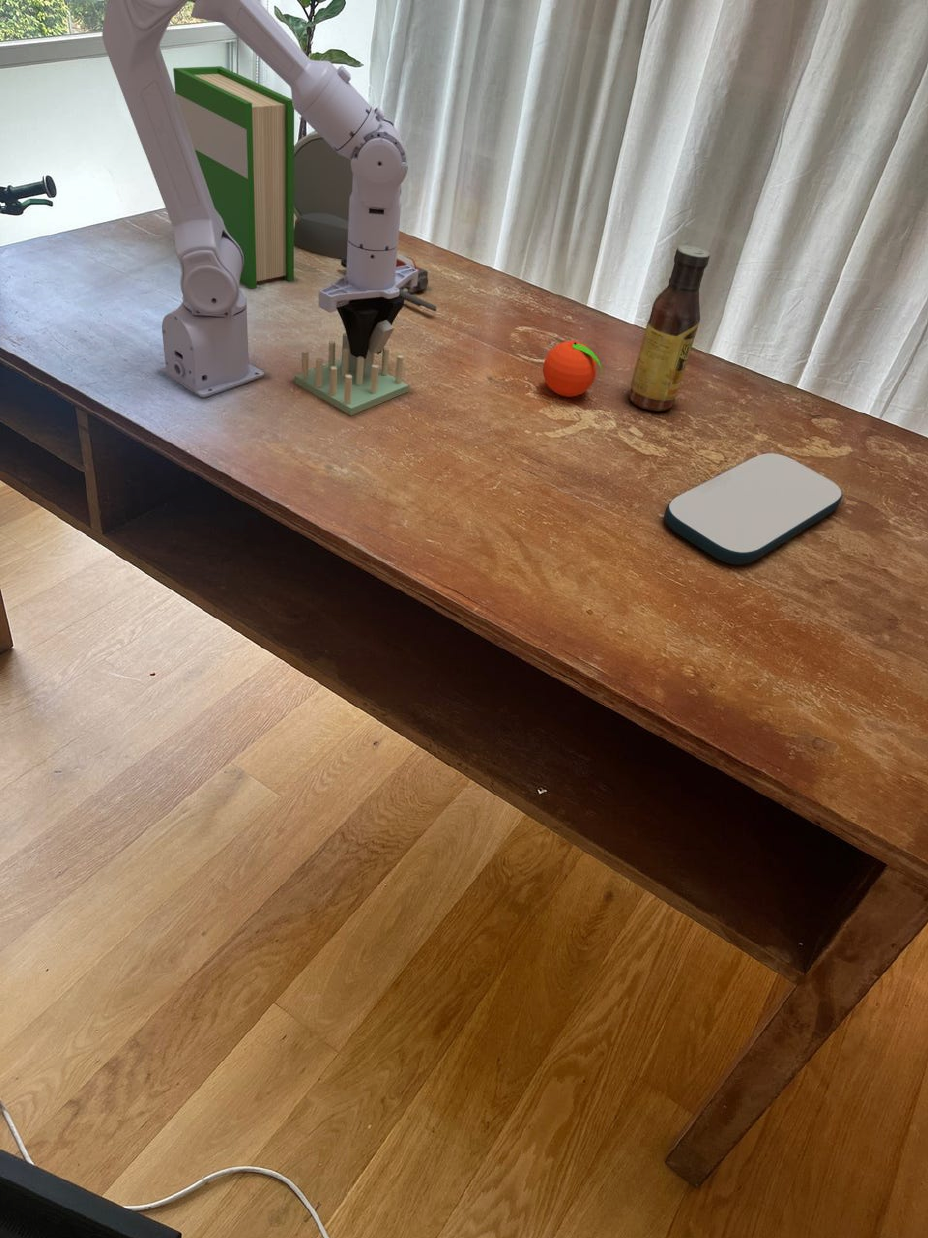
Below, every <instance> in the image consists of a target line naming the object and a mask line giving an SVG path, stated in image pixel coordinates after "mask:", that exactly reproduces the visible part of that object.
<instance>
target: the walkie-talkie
mask: <svg viewBox="0 0 928 1238" xmlns="http://www.w3.org/2000/svg"><path fill="white" fill-rule="evenodd" d="M416 264H417V263H416V262H415V261H414V259H413V258H411V257H408V256H405V255H404V254H402V253H400V252H397V262H396V267H400V266H405V265H408V266H410V267H412V268H414V269H417V270H418V281H417V286H414V287H409V286H404V287H401V288H399V295H401V296H402V297H404V301H407V302H408V303H411V304H413V305H415V306H417V307H424V308H426V309H428V310H431V311H434V312H436V311H437V306H436V305H435V304H433V303H430V302H428V301H426V300H424V299H422V298H420V297H418V296H415V295H413V294H414V293H416V292H419V291H424V290H425V289H426V288H428V284H429V278H428V277H429V276H428V274H429V272H428V270H426V269H425V268H423V267H419V266H417V265H416ZM340 266H341V267H343V268H345V269H347V259H340Z"/></svg>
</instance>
